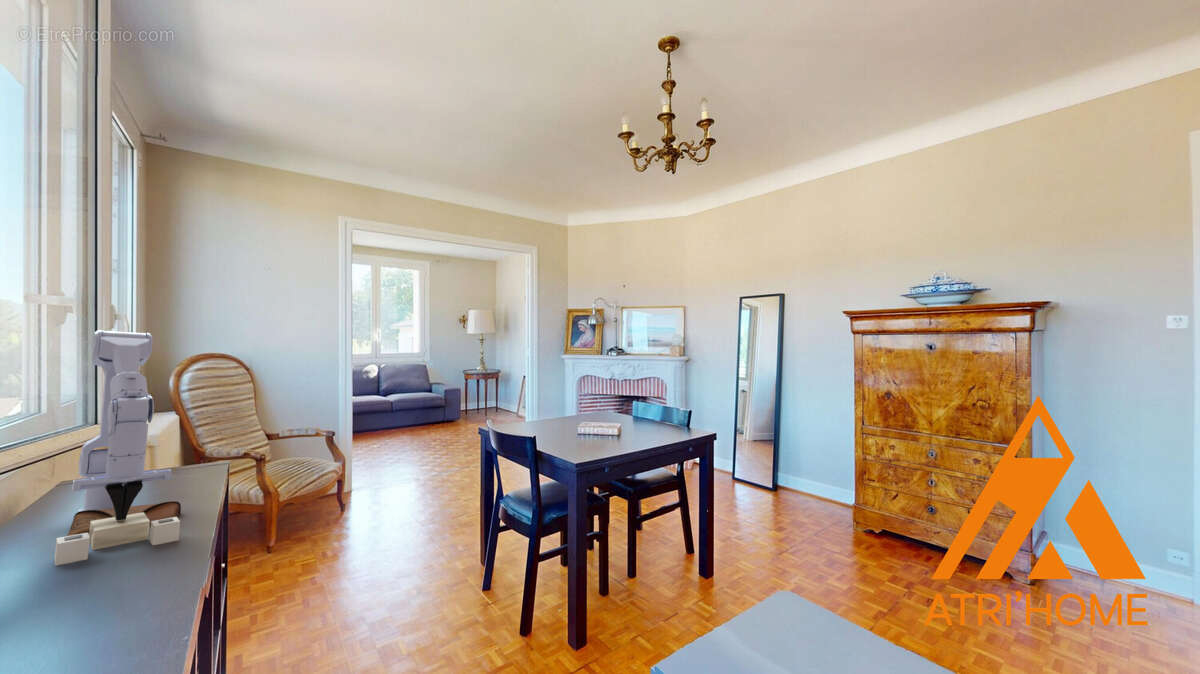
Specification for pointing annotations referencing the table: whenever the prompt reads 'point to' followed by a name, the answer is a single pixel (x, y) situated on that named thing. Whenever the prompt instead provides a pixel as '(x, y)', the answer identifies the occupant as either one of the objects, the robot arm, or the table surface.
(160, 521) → the cream block marked 2
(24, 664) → the table surface
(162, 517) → the sunglasses case
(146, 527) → the plain birch block
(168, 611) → the table surface
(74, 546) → the cream block marked 1
